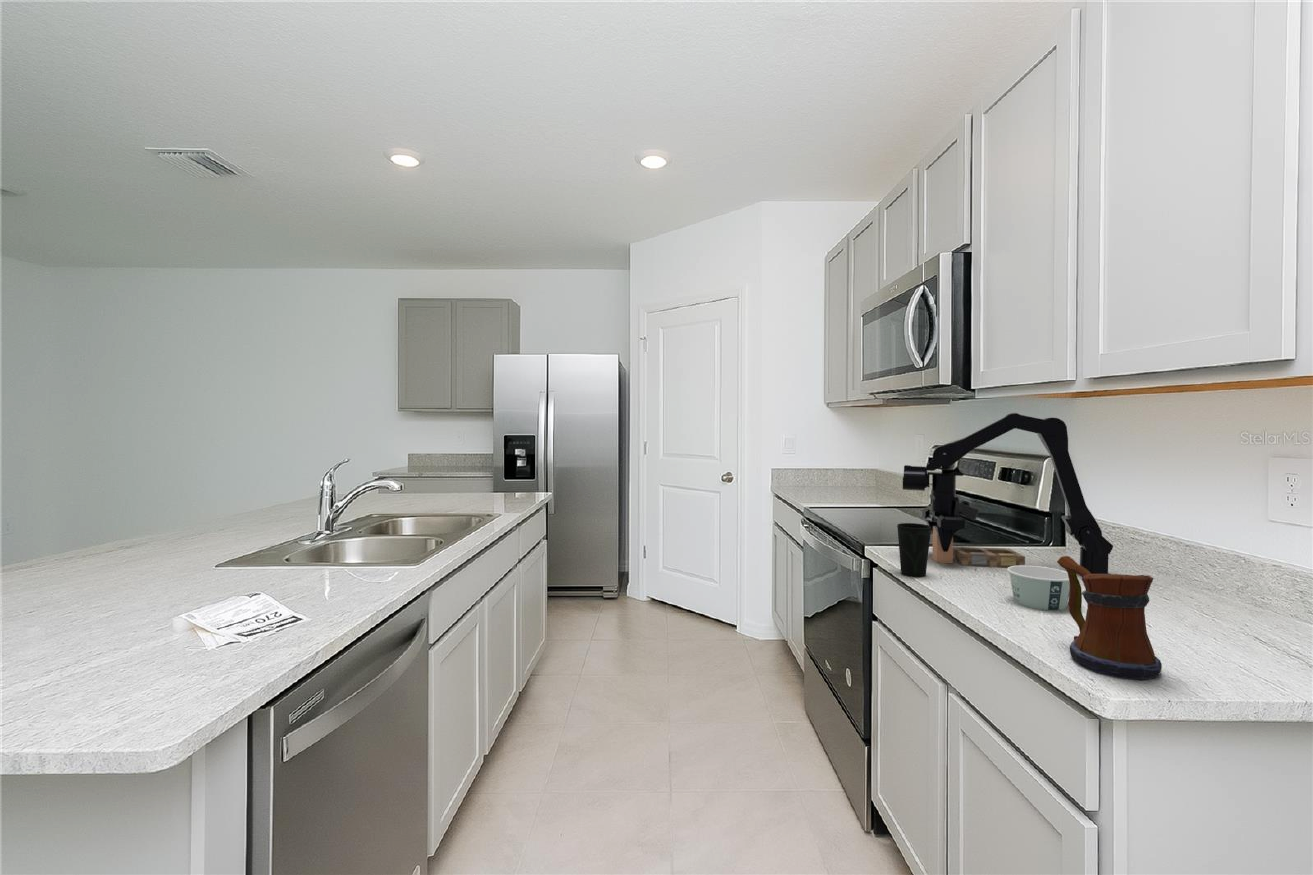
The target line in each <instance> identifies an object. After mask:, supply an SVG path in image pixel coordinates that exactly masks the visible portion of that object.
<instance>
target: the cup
mask: <svg viewBox="0 0 1313 875" xmlns="http://www.w3.org/2000/svg"><path fill="white" fill-rule="evenodd" d="M896 527H897V538H898V551H899V552H898V553H899V562H900V574H901V575H902V576H905V577H910V578H911V577H912V578H924V577H926V575H927V567H928V560H929V550H930V542H931V535H932V533H931V526H928V524H923V523H914V522H913V523H911V522H902V523H901V522H900V523H898V524H897V525H896Z"/></svg>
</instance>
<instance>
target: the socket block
mask: <svg viewBox="0 0 1313 875" xmlns="http://www.w3.org/2000/svg"><path fill="white" fill-rule="evenodd" d="M953 560H954V561H955V562H956V563H958V564H959V565H961V566H963V567H985V568H986V567H988V568H1006V569H1007V568H1008V567H1011V566H1018V565H1026V556H1025V555H1022V554H1021V553H1019V552H1017V551H1015V550H1013V549H1011V548H1005V547H1004V548H1002V547H978V546H977V547H976V546H975V547H974V546H973V547H972V546H953Z"/></svg>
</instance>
